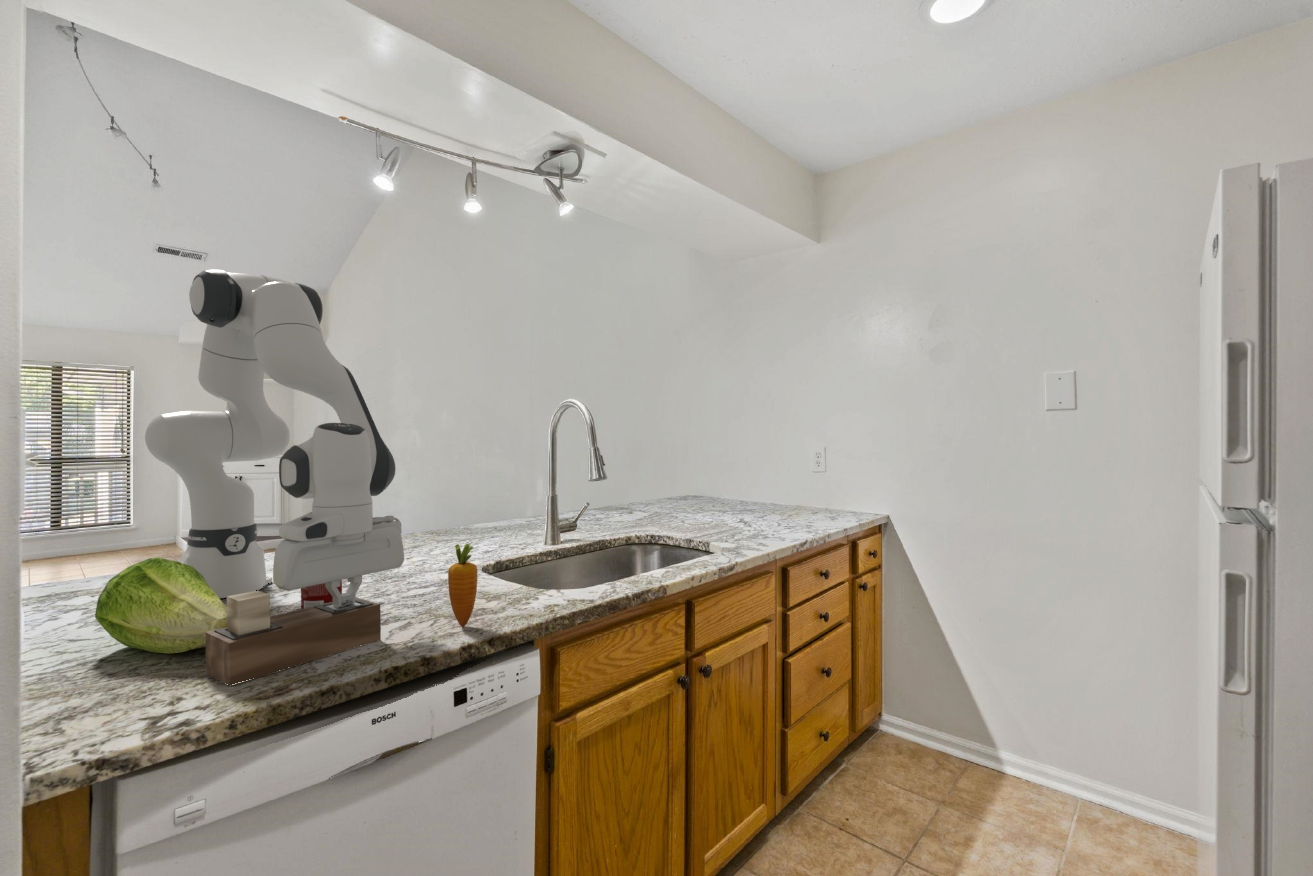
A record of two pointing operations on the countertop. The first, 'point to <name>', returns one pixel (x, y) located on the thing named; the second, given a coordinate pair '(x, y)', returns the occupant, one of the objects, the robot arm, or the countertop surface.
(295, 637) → the walnut block
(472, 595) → the carrot
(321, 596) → the soda can
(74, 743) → the countertop surface
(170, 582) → the lettuce
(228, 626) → the maple peg
